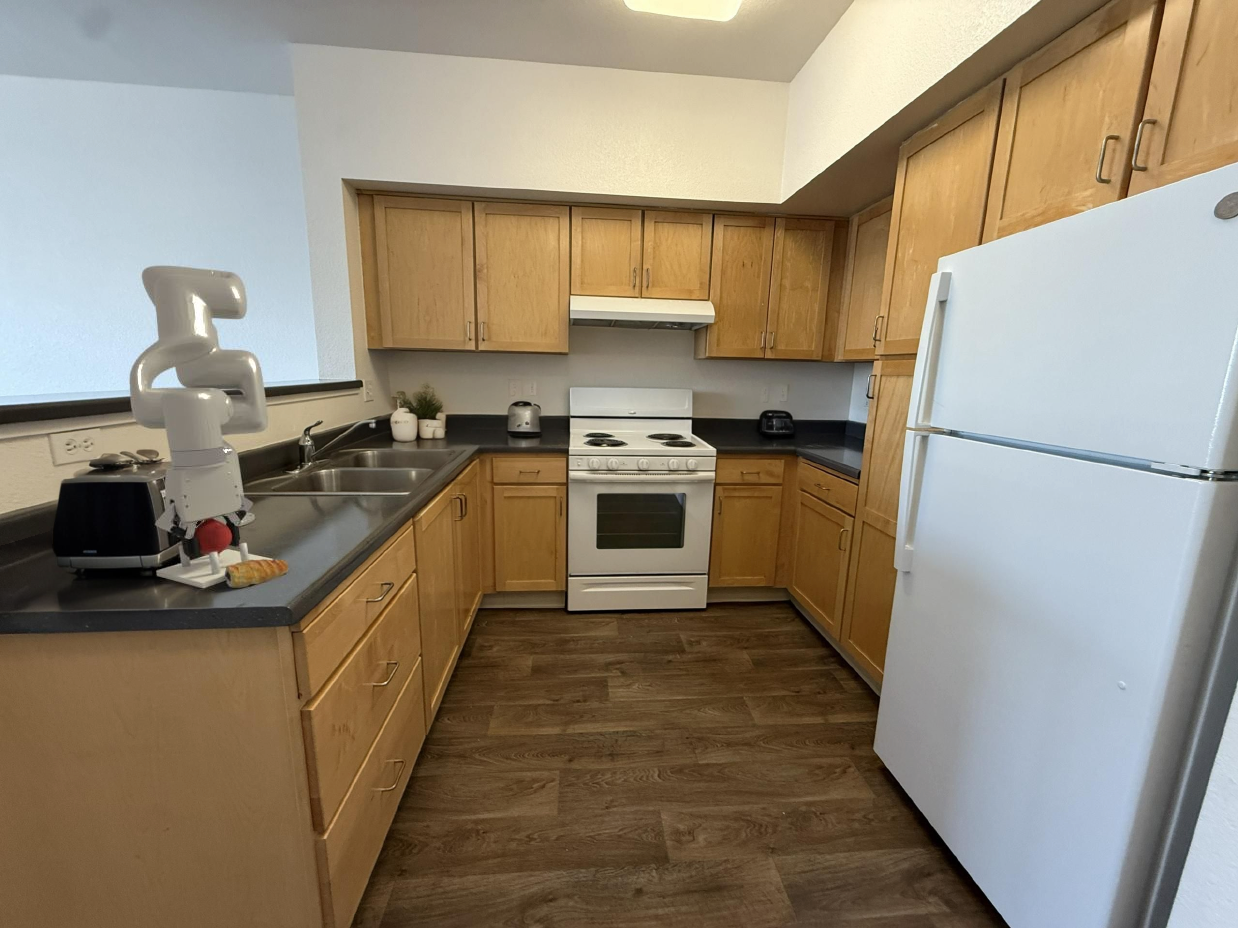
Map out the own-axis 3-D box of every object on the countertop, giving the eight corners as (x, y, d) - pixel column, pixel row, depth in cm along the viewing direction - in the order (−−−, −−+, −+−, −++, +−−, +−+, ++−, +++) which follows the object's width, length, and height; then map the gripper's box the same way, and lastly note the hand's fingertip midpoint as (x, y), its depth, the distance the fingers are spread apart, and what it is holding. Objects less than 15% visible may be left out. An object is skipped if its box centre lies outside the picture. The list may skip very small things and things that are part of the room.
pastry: (282, 566, 95) (280, 548, 94) (294, 576, 91) (292, 556, 90) (222, 582, 88) (219, 562, 87) (232, 593, 84) (229, 572, 83)
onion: (229, 548, 96) (223, 509, 95) (238, 555, 93) (231, 515, 91) (191, 556, 92) (184, 516, 90) (198, 564, 88) (191, 522, 87)
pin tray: (157, 575, 90) (152, 550, 89) (228, 553, 101) (224, 530, 100) (203, 588, 85) (198, 561, 84) (273, 563, 96) (269, 539, 95)
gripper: (237, 450, 98) (249, 535, 101) (126, 464, 82) (145, 564, 86) (261, 452, 95) (273, 539, 99) (151, 468, 80) (170, 571, 83)
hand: (213, 550), depth 92 cm, fingers closed on onion, 5 cm apart
